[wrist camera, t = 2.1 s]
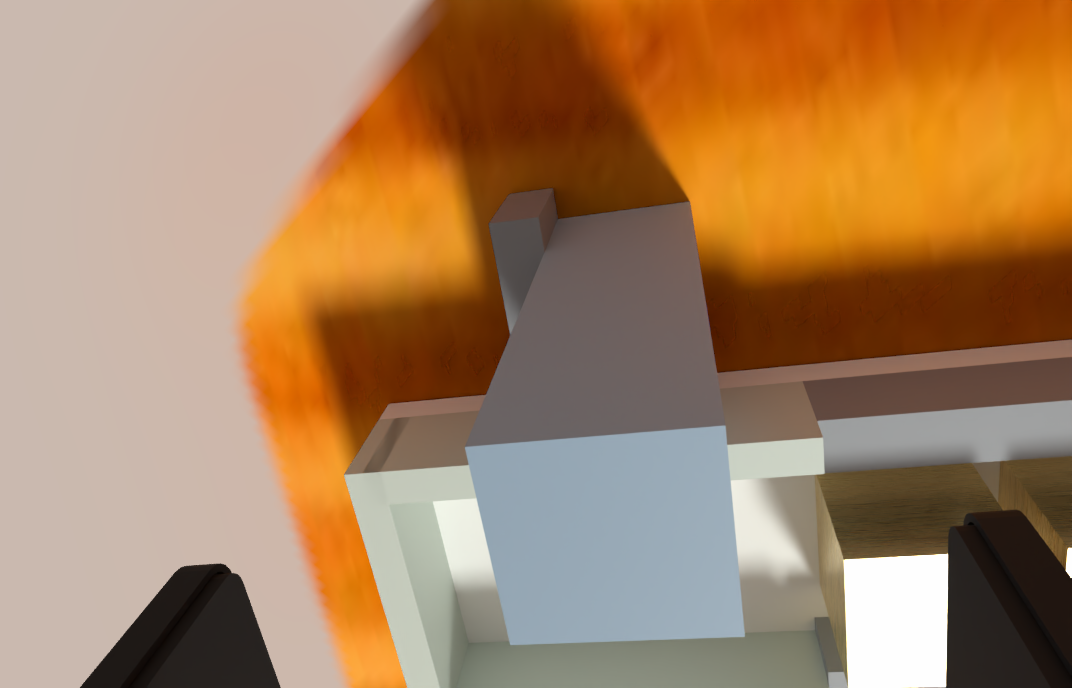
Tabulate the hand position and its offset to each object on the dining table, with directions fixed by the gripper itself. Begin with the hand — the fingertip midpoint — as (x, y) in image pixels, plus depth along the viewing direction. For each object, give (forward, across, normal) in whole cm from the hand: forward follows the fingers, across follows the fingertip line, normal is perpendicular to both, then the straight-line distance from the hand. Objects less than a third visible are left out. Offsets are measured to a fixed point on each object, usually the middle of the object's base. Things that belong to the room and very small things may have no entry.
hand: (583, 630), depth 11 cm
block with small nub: (+13, 0, -1) cm, 13 cm away
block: (+12, -7, +7) cm, 16 cm away
